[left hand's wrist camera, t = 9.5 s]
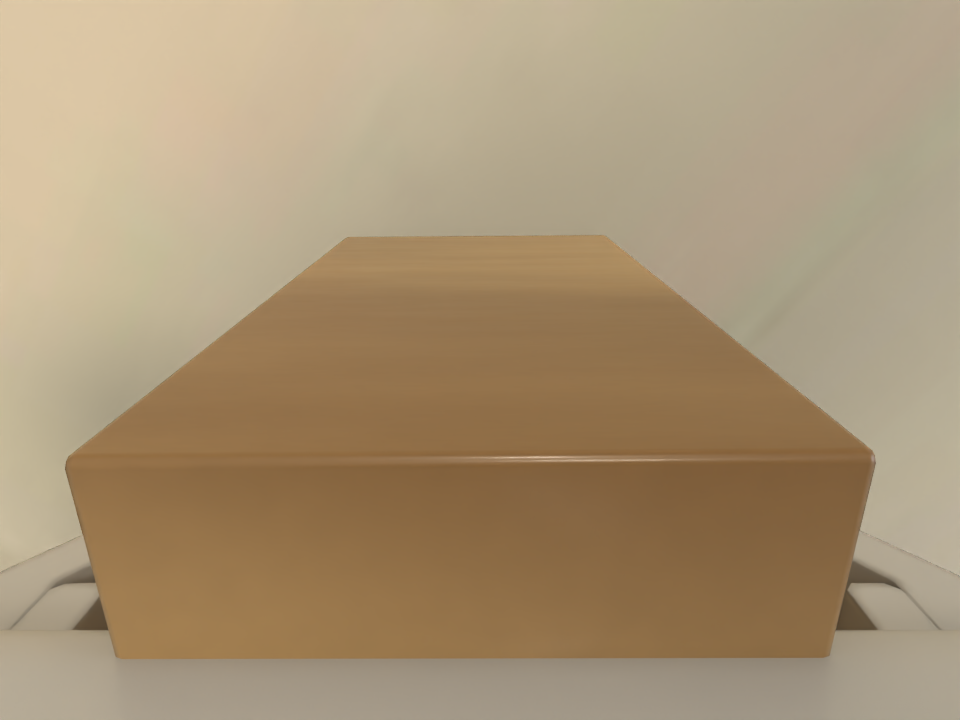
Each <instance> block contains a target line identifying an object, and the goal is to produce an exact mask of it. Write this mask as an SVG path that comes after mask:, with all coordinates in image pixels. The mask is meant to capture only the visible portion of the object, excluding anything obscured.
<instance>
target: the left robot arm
mask: <svg viewBox="0 0 960 720" xmlns="http://www.w3.org/2000/svg"><path fill="white" fill-rule="evenodd" d="M0 720H960V576H958V575H956V574H954V573H952V572H950V571H948V570H945V569H943V568H941V567H939V566H937V565H934V564H932V563H930V562H928V561H926V560H923V559H921V558H919V557H917V556H915V555H912V554H910V553H908V552H906V551H904V550H901V549H899V548H897V547H895V546H893V545H890V544H888V543H886V542H884V541H882V540H879V539H877V538H875V537H873V536H871V535H868V534H866V533H864V532H862V531H859V535H858V539H857V543H856V547H855V552H854V556H853V560H852V564H851V568H850V572H849V577H848V581H847V585H846V589H845V593H844V597H843V602H842V606H841V610H840V614H839V618H838V622H837V627H836V631H835V635H834V639H833V643H832V647H831V652H830V656H827V657H824V658H468V659H120V658H117V657H116V656H115V653H114V649H113V645H112V641H111V638H110V634H109V630H108V627H107V623H106V619H105V615H104V612H103V608H102V604H101V600H100V597H99V593H98V589H97V586H96V582H95V578H94V574H93V571H92V567H91V563H90V560H89V556H88V552H87V548H86V545H85V541H84V537H83V535H81V536H79V537H77V538H75V539H72V540H70V541H68V542H66V543H63V544H61V545H59V546H57V547H55V548H52V549H50V550H48V551H46V552H43V553H41V554H39V555H37V556H35V557H32V558H30V559H28V560H26V561H23V562H21V563H19V564H17V565H14V566H12V567H10V568H8V569H6V570H3V571H1V572H0Z"/></svg>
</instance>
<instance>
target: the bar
mask: <svg viewBox="0 0 960 720" xmlns="http://www.w3.org/2000/svg"><path fill="white" fill-rule="evenodd" d="M875 464H876V462H875V455H874V453H873V451H872V450H871V449H870V448H869V447H867V446H866V445H865V444H864V443H862V442H861V441H860V440H859V439H858V438H856V437H855V436H854V435H853V434H851V433H850V432H849V431H848V430H846V429H845V428H844V427H843V426H841V425H840V424H839V423H838V422H836V421H835V420H834V419H833V418H831V417H830V416H829V415H828V414H826V413H825V412H824V411H823V410H821V409H820V408H819V407H818V406H816V405H815V404H814V403H813V402H811V401H810V400H809V399H808V398H806V397H805V396H804V395H803V394H801V393H800V392H799V391H798V390H797V389H795V388H794V387H793V386H792V385H790V384H789V383H788V382H787V381H785V380H784V379H783V378H782V377H780V376H779V375H778V374H777V373H775V372H774V371H773V370H772V369H770V368H769V367H768V366H767V365H765V364H764V363H763V362H762V361H760V360H759V359H758V358H757V357H755V356H754V355H753V354H752V353H750V352H749V351H748V350H747V349H745V348H744V347H743V346H742V345H741V344H739V343H738V342H737V341H736V340H734V339H733V338H732V337H731V336H729V335H728V334H727V333H726V332H724V331H723V330H722V329H721V328H719V327H718V326H717V325H716V324H714V323H713V322H712V321H711V320H709V319H708V318H707V317H706V316H704V315H703V314H702V313H701V312H699V311H698V310H697V309H696V308H694V307H693V306H692V305H691V304H689V303H688V302H687V301H686V300H685V299H683V298H682V297H681V296H680V295H678V294H677V293H676V292H675V291H673V290H672V289H671V288H670V287H668V286H667V285H666V284H665V283H663V282H662V281H661V280H660V279H658V278H657V277H656V276H655V275H653V274H652V273H651V272H650V271H648V270H647V269H646V268H645V267H643V266H642V265H641V264H640V263H638V262H637V261H636V260H635V259H633V258H632V257H631V256H630V255H628V254H627V253H626V252H625V251H624V250H622V249H621V248H620V247H619V246H617V245H616V244H615V243H614V242H612V241H611V240H610V239H609V238H607V237H606V236H604V235H573V236H438V237H348V238H345V239H344V240H343V241H342V242H340V243H339V244H338V245H336V246H335V247H334V248H333V249H331V250H330V251H329V252H328V253H326V254H325V255H324V256H322V257H321V258H320V259H319V260H317V261H316V262H315V263H314V264H312V265H311V266H310V267H308V268H307V269H306V270H305V271H303V272H302V273H301V274H300V275H298V276H297V277H296V278H295V279H293V280H292V281H291V282H289V283H288V284H287V285H286V286H284V287H283V288H282V289H281V290H279V291H278V292H277V293H275V294H274V295H273V296H272V297H270V298H269V299H268V300H267V301H265V302H264V303H263V304H261V305H260V306H259V307H258V308H256V309H255V310H254V311H253V312H251V313H250V314H249V315H248V316H246V317H245V318H244V319H242V320H241V321H240V322H239V323H237V324H236V325H235V326H234V327H232V328H231V329H230V330H228V331H227V332H226V333H225V334H223V335H222V336H221V337H220V338H218V339H217V340H216V341H214V342H213V343H212V344H211V345H209V346H208V347H207V348H206V349H204V350H203V351H202V352H201V353H199V354H198V355H197V356H195V357H194V358H193V359H192V360H190V361H189V362H188V363H187V364H185V365H184V366H183V367H181V368H180V369H179V370H178V371H176V372H175V373H174V374H173V375H171V376H170V377H169V378H167V379H166V380H165V381H164V382H162V383H161V384H160V385H159V386H157V387H156V388H155V389H154V390H152V391H151V392H150V393H148V394H147V395H146V396H145V397H143V398H142V399H141V400H140V401H138V402H137V403H136V404H134V405H133V406H132V407H131V408H129V409H128V410H127V411H126V412H124V413H123V414H122V415H121V416H119V417H118V418H117V419H115V420H114V421H113V422H112V423H110V424H109V425H108V426H107V427H105V428H104V429H103V430H101V431H100V432H99V433H98V434H96V435H95V436H94V437H93V438H91V439H90V440H89V441H87V442H86V443H85V444H84V445H82V446H81V447H80V448H79V449H77V450H76V451H75V452H74V453H72V454H71V455H70V456H69V457H68V459H67V461H66V467H65V470H66V474H67V478H68V481H69V485H70V489H71V492H72V496H73V500H74V504H75V507H76V511H77V515H78V519H79V522H80V526H81V530H82V533H83V537H84V541H85V545H86V548H87V552H88V556H89V560H90V563H91V567H92V571H93V574H94V578H95V582H96V586H97V589H98V593H99V597H100V600H101V604H102V608H103V612H104V615H105V619H106V623H107V627H108V630H109V634H110V638H111V641H112V645H113V649H114V653H115V656H116V657H117V658H120V659H468V658H824V657H827V656H830V652H831V647H832V643H833V639H834V635H835V631H836V627H837V622H838V618H839V614H840V610H841V606H842V602H843V597H844V593H845V589H846V585H847V581H848V577H849V572H850V568H851V564H852V560H853V556H854V552H855V547H856V543H857V539H858V535H859V531H860V527H861V522H862V518H863V514H864V510H865V506H866V502H867V497H868V493H869V489H870V485H871V481H872V476H873V472H874V468H875Z"/></svg>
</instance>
